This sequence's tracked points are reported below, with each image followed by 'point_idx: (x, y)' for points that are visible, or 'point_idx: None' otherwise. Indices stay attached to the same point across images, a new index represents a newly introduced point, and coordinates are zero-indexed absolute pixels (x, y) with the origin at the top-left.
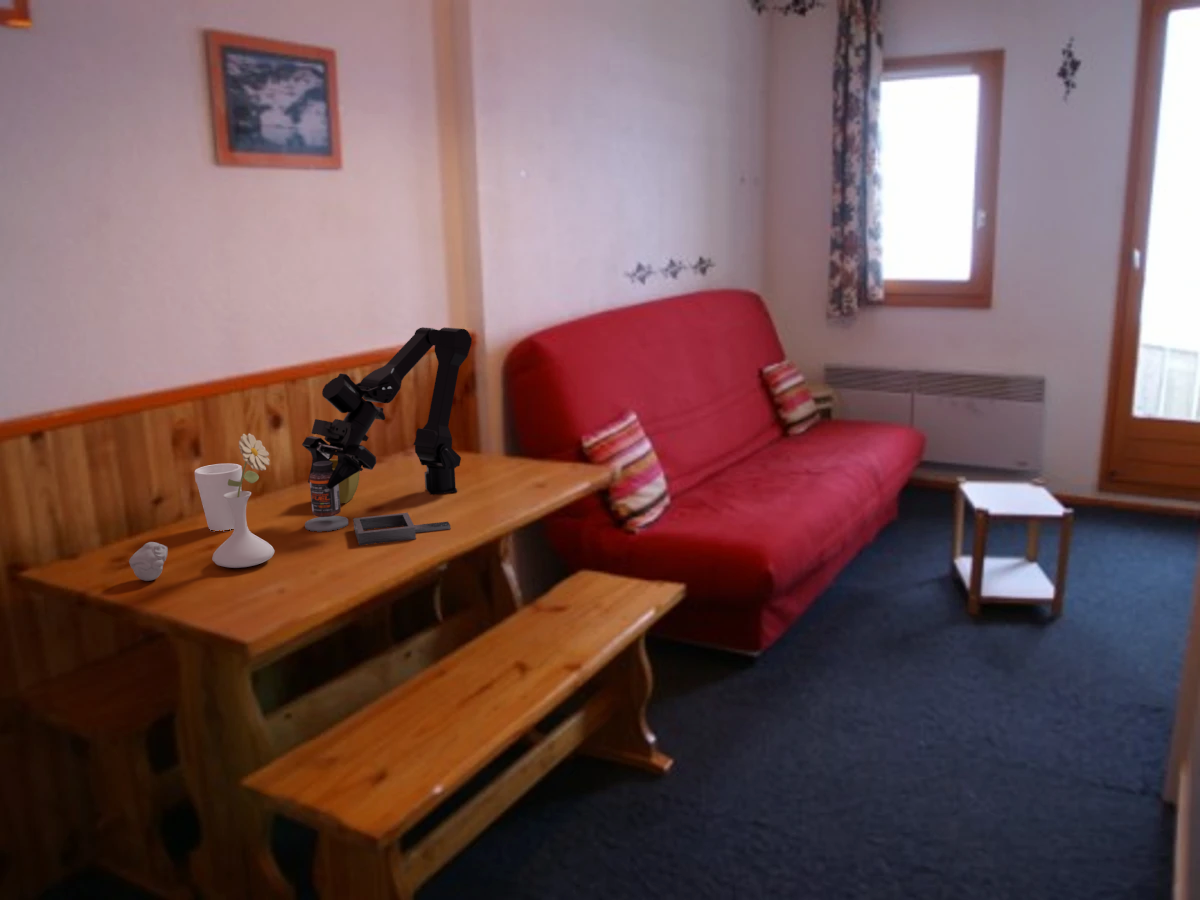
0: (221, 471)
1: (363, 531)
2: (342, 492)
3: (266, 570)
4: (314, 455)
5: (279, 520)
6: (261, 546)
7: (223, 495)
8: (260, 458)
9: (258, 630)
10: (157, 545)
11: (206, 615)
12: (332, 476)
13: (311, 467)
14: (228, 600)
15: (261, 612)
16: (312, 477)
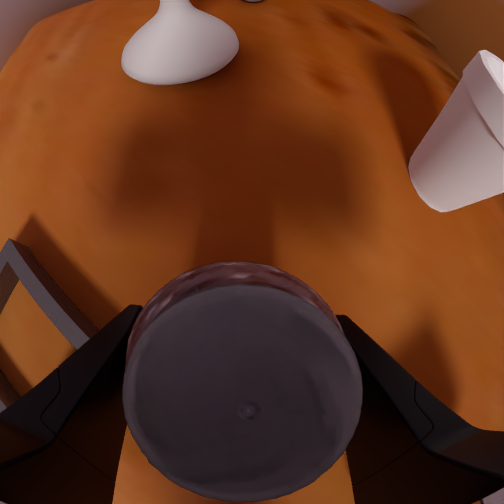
0: None
1: (7, 259)
2: None
3: (115, 64)
4: (473, 446)
5: (398, 288)
6: (132, 43)
7: (450, 102)
8: None
9: (35, 28)
10: None
11: (97, 5)
12: (94, 347)
13: (411, 380)
14: (98, 19)
15: (48, 34)
16: (244, 263)
